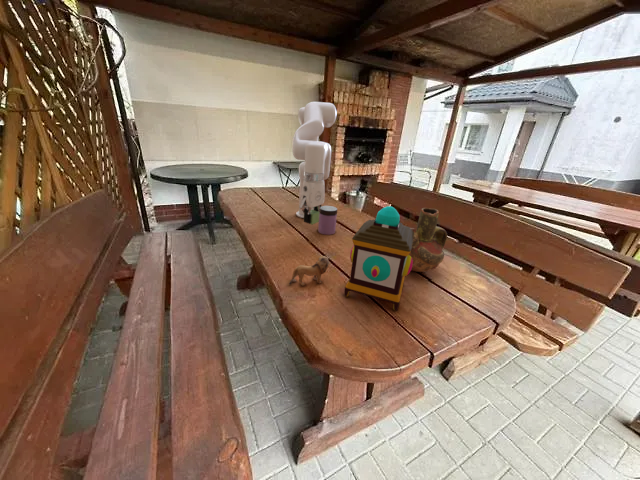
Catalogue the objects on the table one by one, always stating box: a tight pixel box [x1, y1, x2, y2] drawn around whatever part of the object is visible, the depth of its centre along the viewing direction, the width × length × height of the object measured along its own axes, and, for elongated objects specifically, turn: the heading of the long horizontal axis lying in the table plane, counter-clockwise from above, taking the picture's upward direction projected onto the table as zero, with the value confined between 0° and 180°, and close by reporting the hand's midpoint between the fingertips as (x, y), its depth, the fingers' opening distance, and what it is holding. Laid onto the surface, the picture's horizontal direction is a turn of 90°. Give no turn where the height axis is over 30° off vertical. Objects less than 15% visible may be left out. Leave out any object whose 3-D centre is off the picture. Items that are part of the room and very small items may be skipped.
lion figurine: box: [288, 255, 330, 287], centre depth 90 cm, size 15×5×9 cm, turn 116°
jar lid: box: [319, 205, 338, 216], centre depth 133 cm, size 9×9×2 cm
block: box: [307, 209, 319, 225], centre depth 108 cm, size 4×4×4 cm
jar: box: [317, 213, 338, 236], centre depth 135 cm, size 9×9×12 cm
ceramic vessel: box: [409, 207, 448, 273], centre depth 101 cm, size 17×26×25 cm, turn 117°
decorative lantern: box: [343, 205, 414, 312], centre depth 84 cm, size 20×20×30 cm
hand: (311, 220), depth 109 cm, fingers closed on block, 4 cm apart
